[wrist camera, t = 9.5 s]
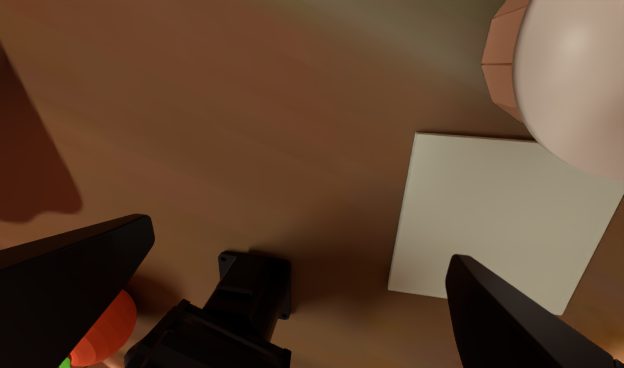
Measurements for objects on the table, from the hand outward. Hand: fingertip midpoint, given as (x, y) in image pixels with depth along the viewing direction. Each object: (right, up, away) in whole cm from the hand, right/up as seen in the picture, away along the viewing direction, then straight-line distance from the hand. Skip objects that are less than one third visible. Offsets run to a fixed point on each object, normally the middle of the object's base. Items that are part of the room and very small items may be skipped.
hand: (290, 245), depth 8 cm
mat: (+14, -1, +12) cm, 19 cm away
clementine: (-19, -10, +22) cm, 31 cm away
